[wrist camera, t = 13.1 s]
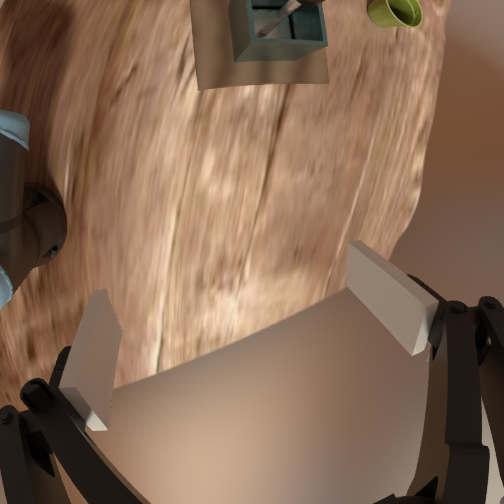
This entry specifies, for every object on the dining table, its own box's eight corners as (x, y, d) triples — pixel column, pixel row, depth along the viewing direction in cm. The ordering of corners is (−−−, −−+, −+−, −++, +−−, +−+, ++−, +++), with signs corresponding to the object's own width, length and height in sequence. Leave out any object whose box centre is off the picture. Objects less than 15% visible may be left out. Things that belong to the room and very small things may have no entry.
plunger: (241, 54, 38) (284, 10, 20) (236, 11, 35) (274, -51, 17) (291, 53, 40) (359, 20, 22) (286, 11, 36) (346, -39, 18)
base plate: (198, 90, 42) (198, 88, 40) (189, -3, 34) (189, -7, 33) (324, 83, 46) (329, 82, 44) (312, -2, 38) (317, -5, 36)
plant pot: (398, 9, 41) (424, 1, 33) (394, 42, 44) (421, 36, 36) (362, -11, 38) (387, -24, 30) (357, 22, 41) (383, 11, 34)
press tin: (234, 62, 40) (251, 43, 29) (228, 8, 35) (243, -22, 25) (295, 60, 41) (328, 45, 31) (288, 9, 37) (318, -17, 26)
